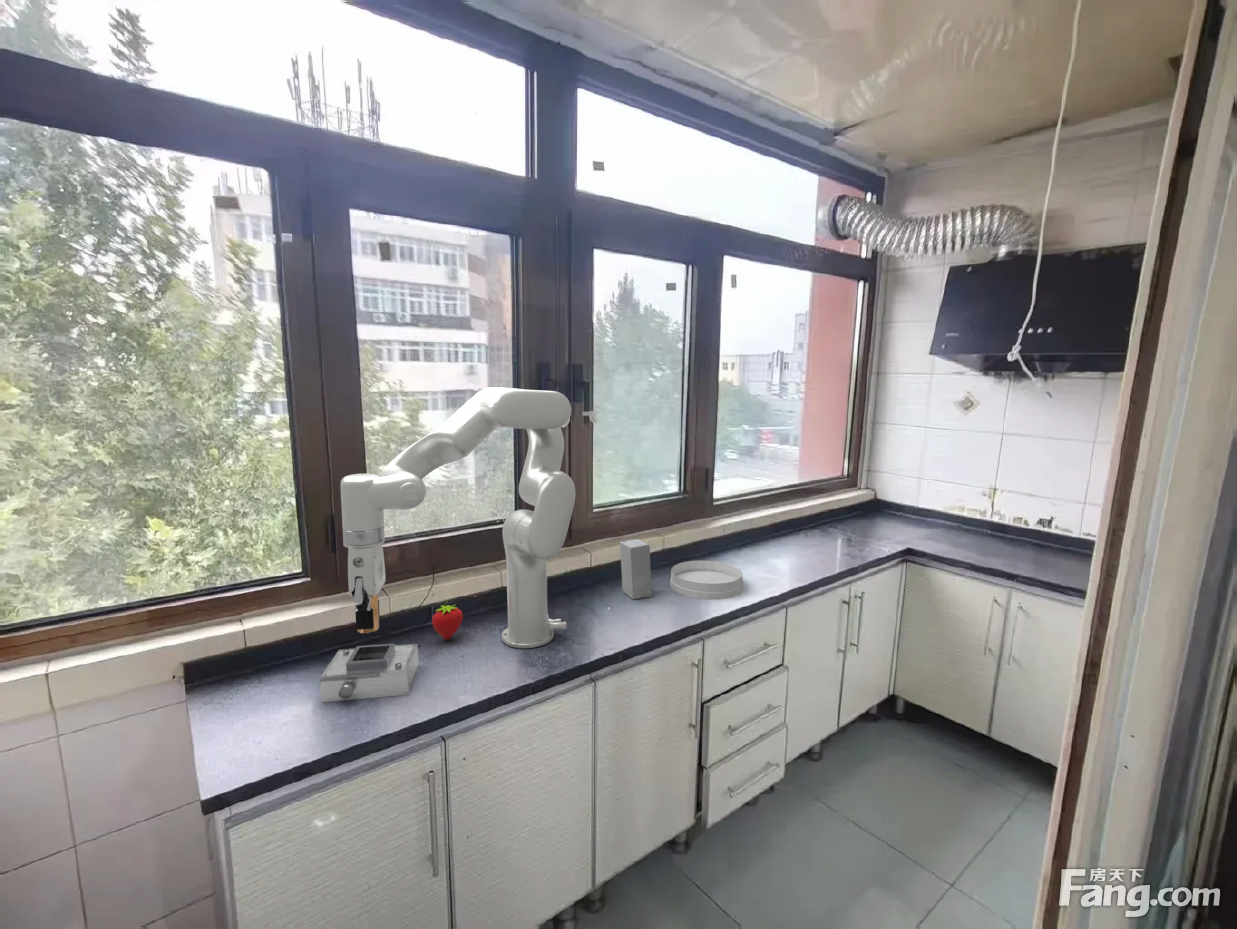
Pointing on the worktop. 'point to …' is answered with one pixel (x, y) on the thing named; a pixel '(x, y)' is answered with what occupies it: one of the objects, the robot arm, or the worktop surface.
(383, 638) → the worktop surface
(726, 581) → the dish
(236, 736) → the worktop surface
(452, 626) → the strawberry
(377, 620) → the spout can
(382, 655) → the plate
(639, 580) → the skincare box
